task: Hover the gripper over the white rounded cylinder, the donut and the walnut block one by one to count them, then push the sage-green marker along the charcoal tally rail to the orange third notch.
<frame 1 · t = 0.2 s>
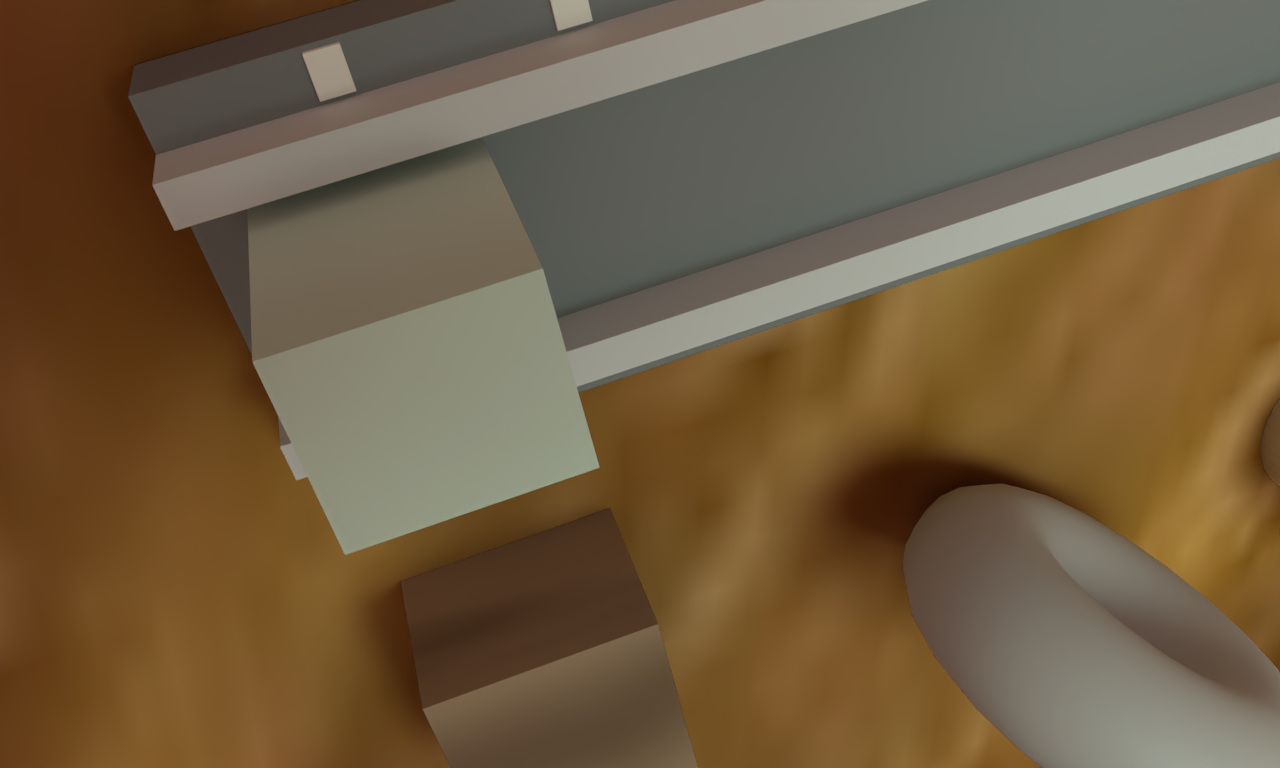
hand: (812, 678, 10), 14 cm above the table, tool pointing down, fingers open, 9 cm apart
tally marker: (416, 331, 19), point 4 cm above the table, slide at 0.0 cm
walnut block: (532, 614, 29), on the table
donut: (985, 509, 31), on the table
tally rail: (976, 39, 24), on the table
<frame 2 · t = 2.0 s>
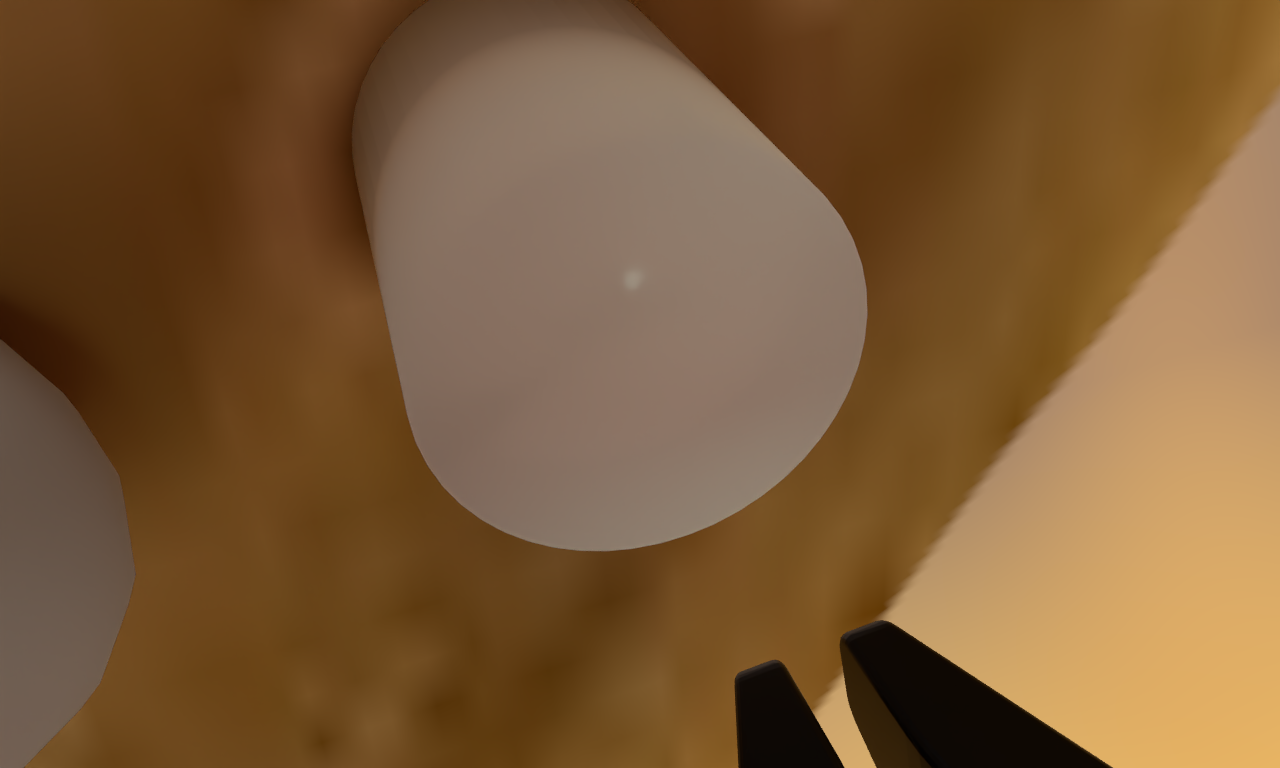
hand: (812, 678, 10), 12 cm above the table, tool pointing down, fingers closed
white rounded cylinder: (526, 144, 20), on the table
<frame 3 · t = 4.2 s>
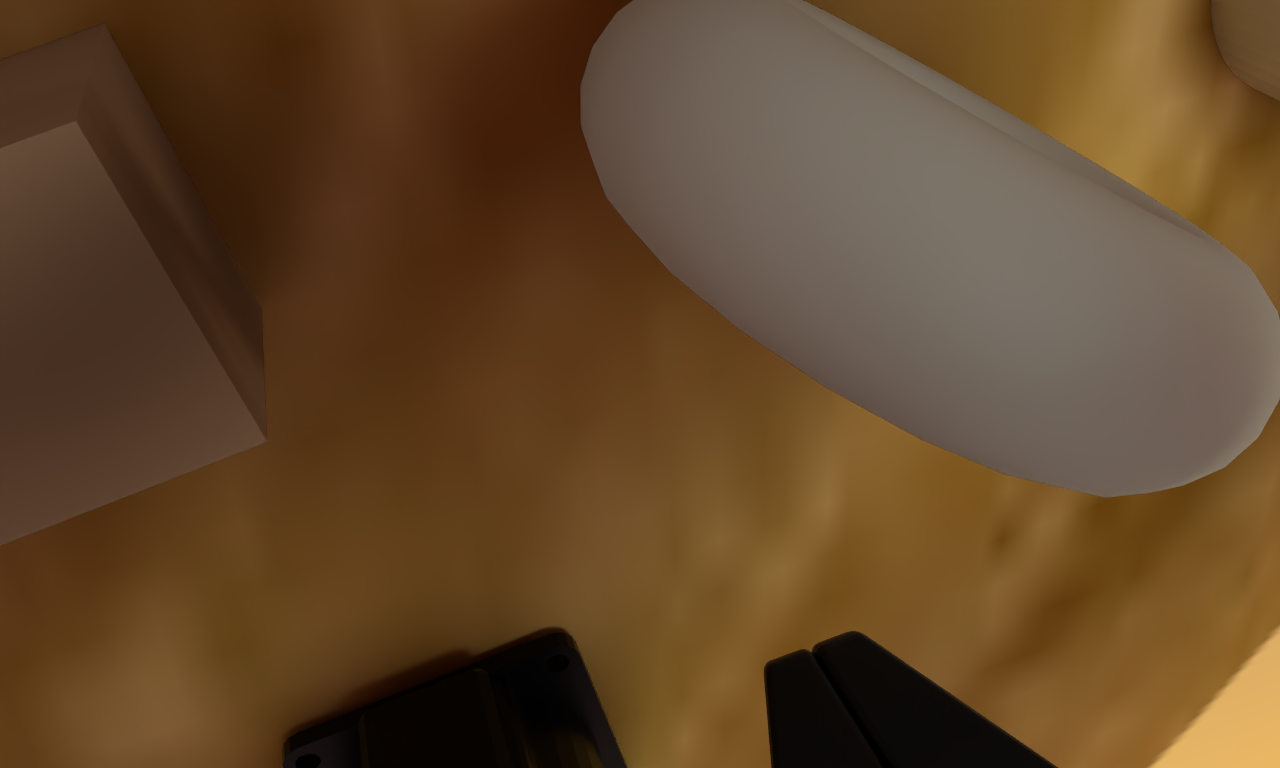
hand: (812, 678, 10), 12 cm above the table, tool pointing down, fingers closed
walnut block: (32, 231, 18), on the table
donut: (780, 92, 20), on the table
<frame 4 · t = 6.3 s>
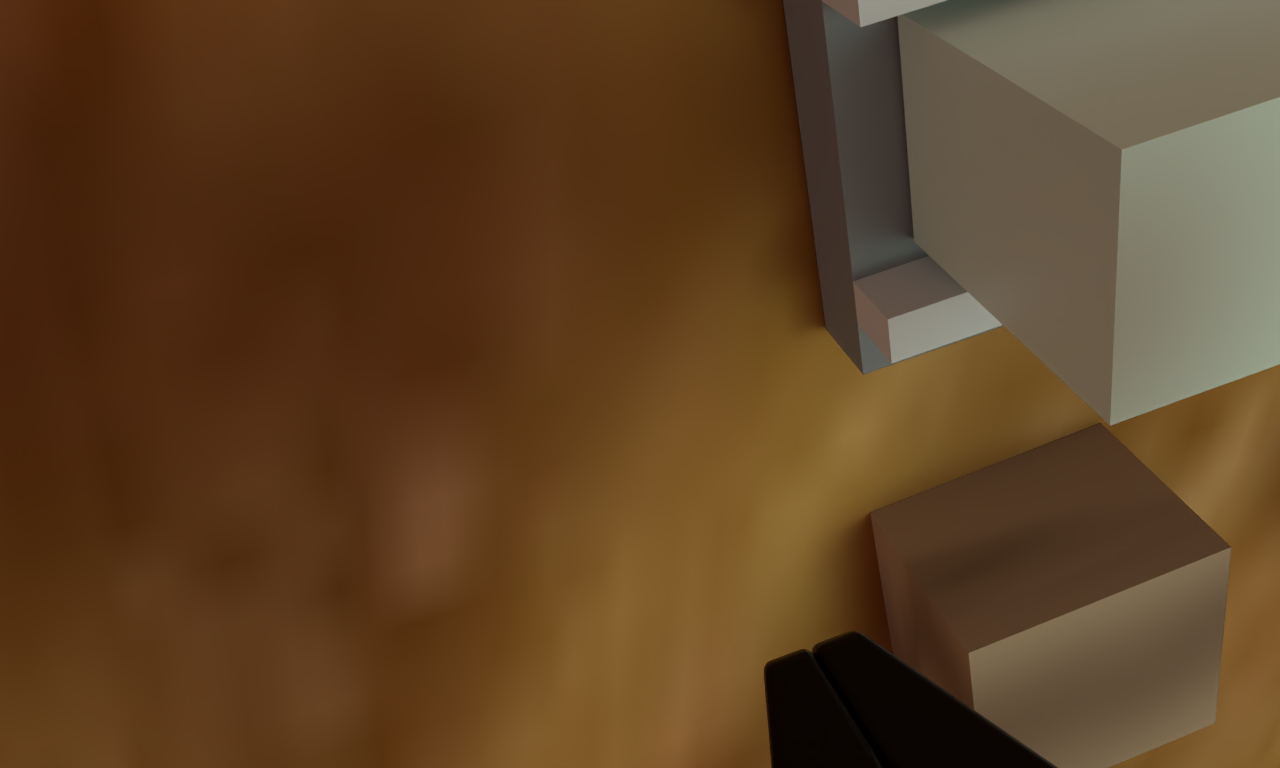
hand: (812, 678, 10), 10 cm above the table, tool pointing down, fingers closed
tally marker: (1139, 157, 15), point 4 cm above the table, slide at 0.0 cm
walnut block: (989, 550, 25), on the table
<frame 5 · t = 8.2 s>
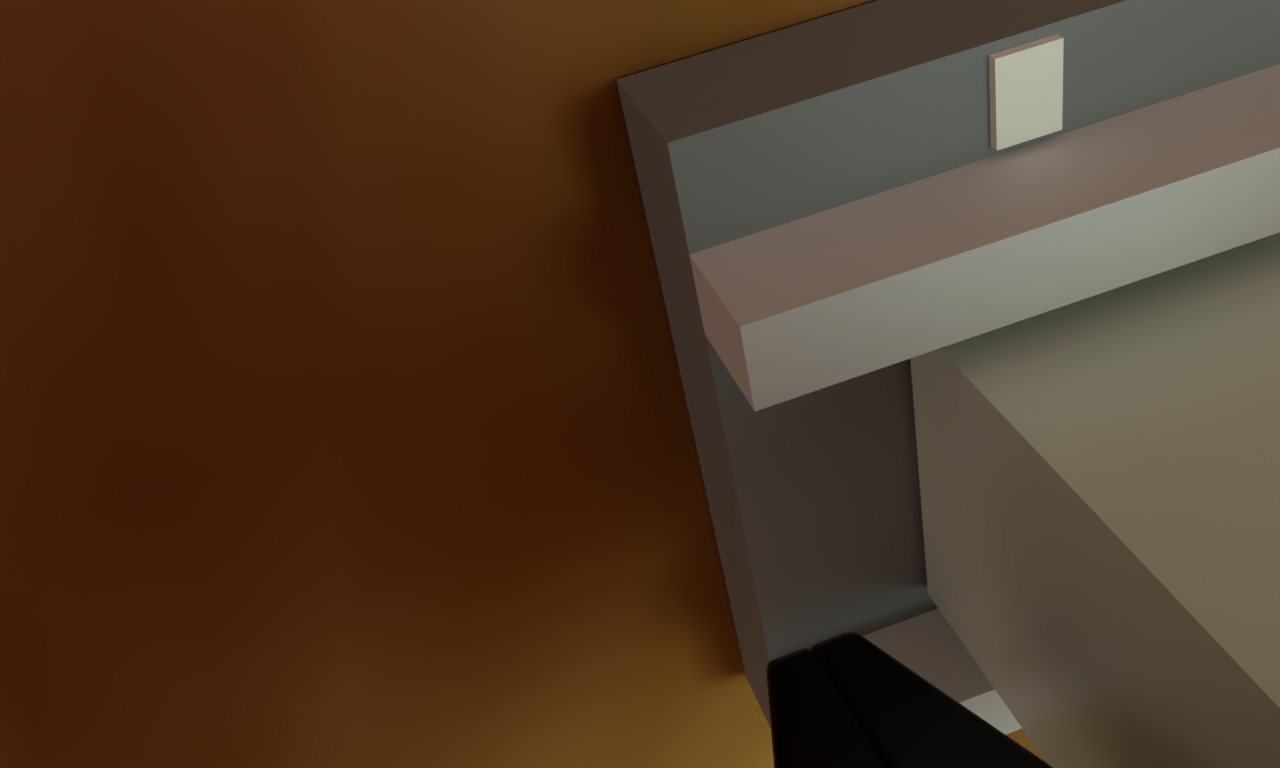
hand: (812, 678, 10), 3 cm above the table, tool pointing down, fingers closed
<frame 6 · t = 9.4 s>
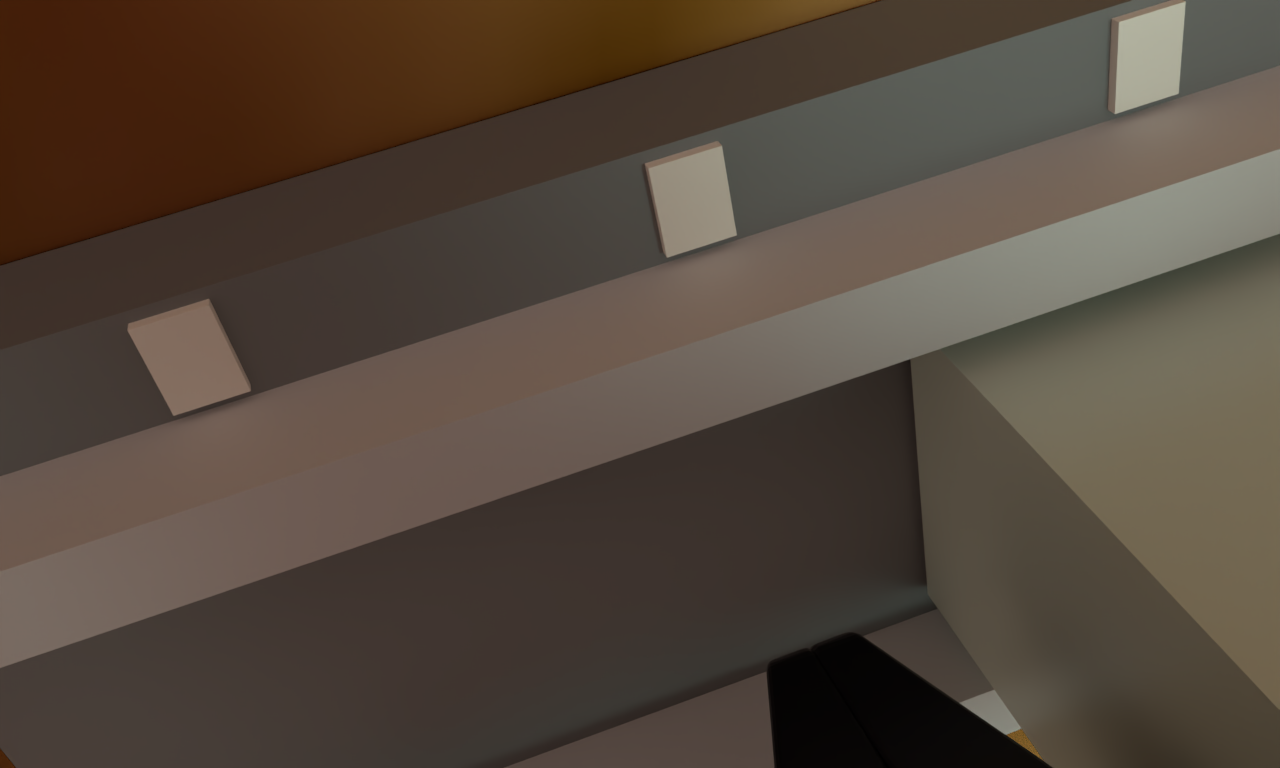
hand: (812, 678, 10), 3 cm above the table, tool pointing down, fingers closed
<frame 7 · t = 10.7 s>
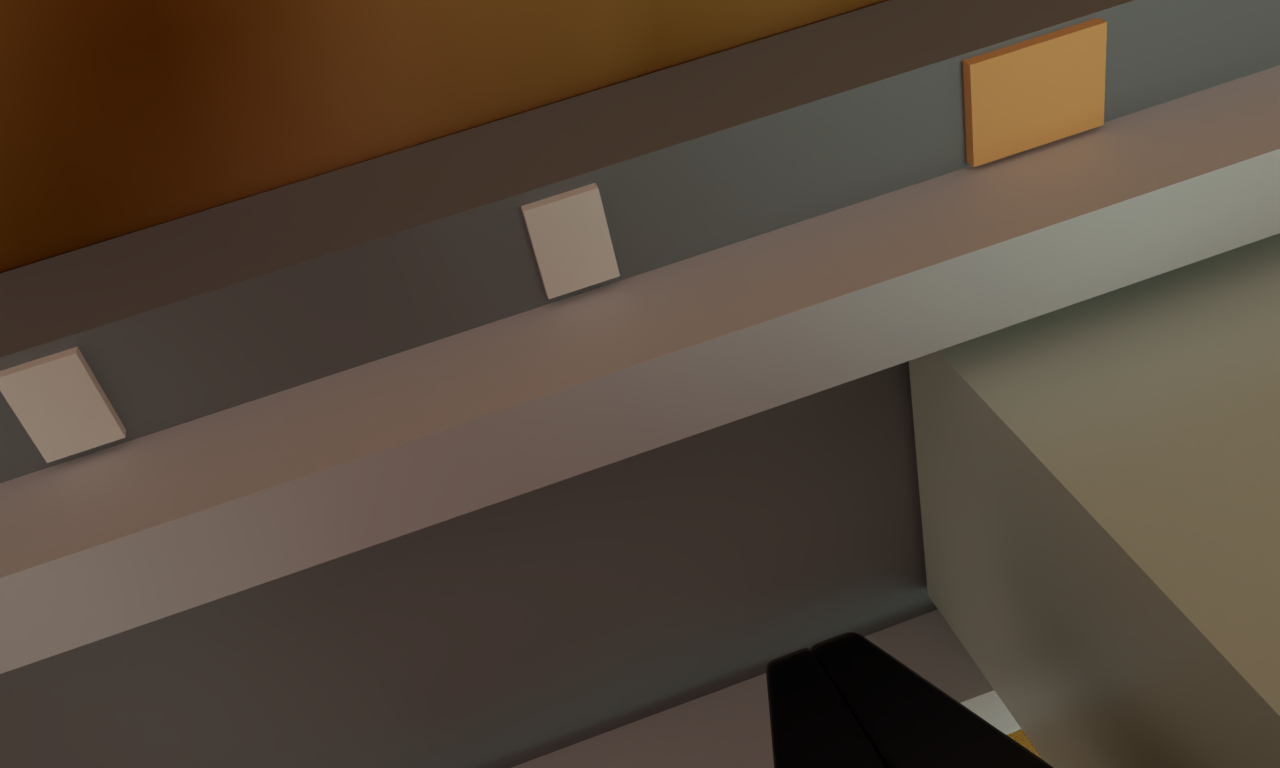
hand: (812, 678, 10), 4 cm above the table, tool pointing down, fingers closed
tally marker: (1278, 566, 10), point 4 cm above the table, slide at 12.7 cm, touching gripper
tally rail: (959, 343, 13), on the table
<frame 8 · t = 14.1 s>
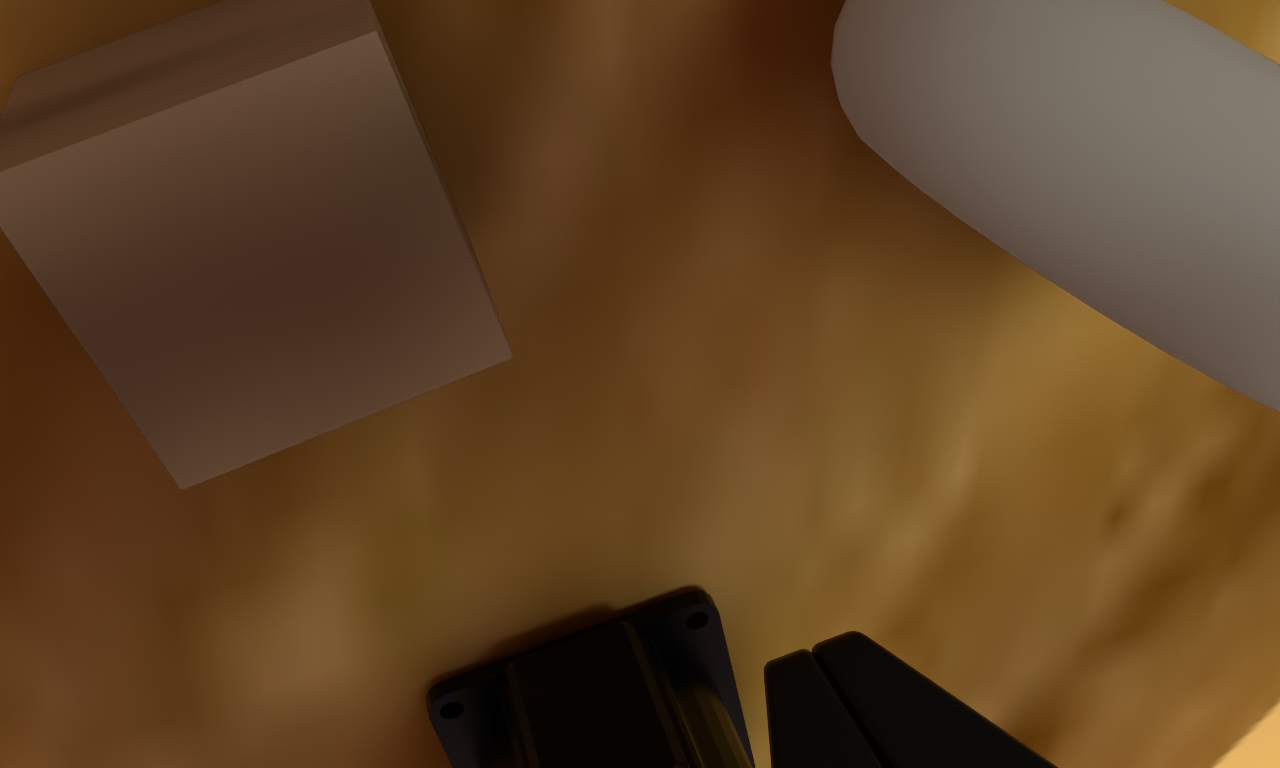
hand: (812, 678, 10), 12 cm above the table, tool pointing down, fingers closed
walnut block: (264, 162, 19), on the table
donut: (965, 61, 21), on the table
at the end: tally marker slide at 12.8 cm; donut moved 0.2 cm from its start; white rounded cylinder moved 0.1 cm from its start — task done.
